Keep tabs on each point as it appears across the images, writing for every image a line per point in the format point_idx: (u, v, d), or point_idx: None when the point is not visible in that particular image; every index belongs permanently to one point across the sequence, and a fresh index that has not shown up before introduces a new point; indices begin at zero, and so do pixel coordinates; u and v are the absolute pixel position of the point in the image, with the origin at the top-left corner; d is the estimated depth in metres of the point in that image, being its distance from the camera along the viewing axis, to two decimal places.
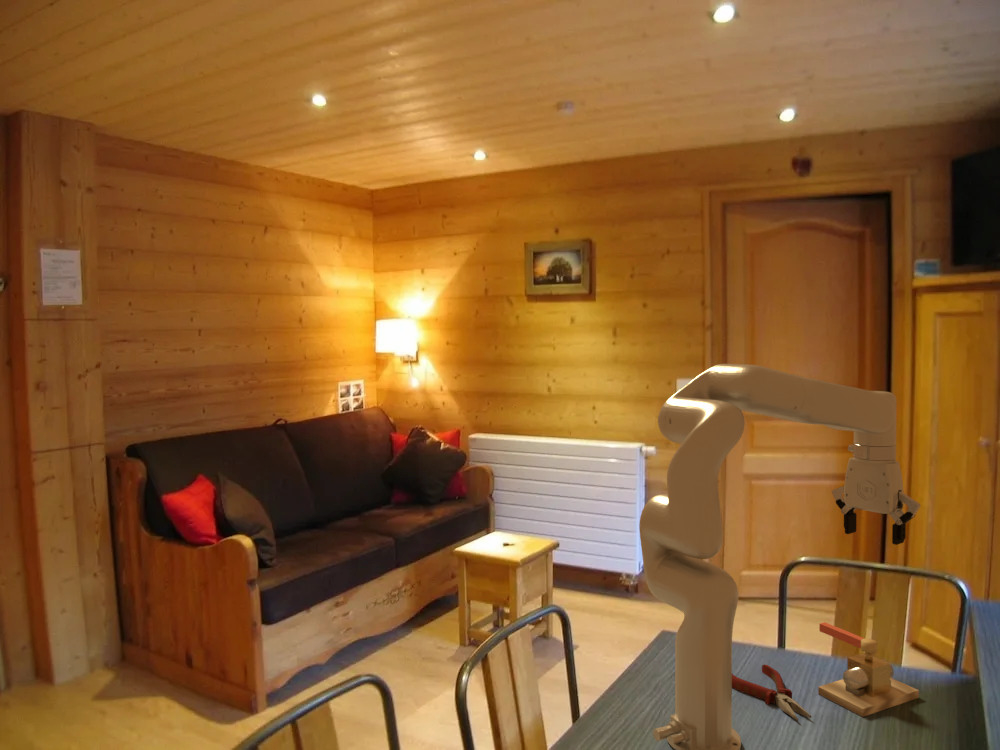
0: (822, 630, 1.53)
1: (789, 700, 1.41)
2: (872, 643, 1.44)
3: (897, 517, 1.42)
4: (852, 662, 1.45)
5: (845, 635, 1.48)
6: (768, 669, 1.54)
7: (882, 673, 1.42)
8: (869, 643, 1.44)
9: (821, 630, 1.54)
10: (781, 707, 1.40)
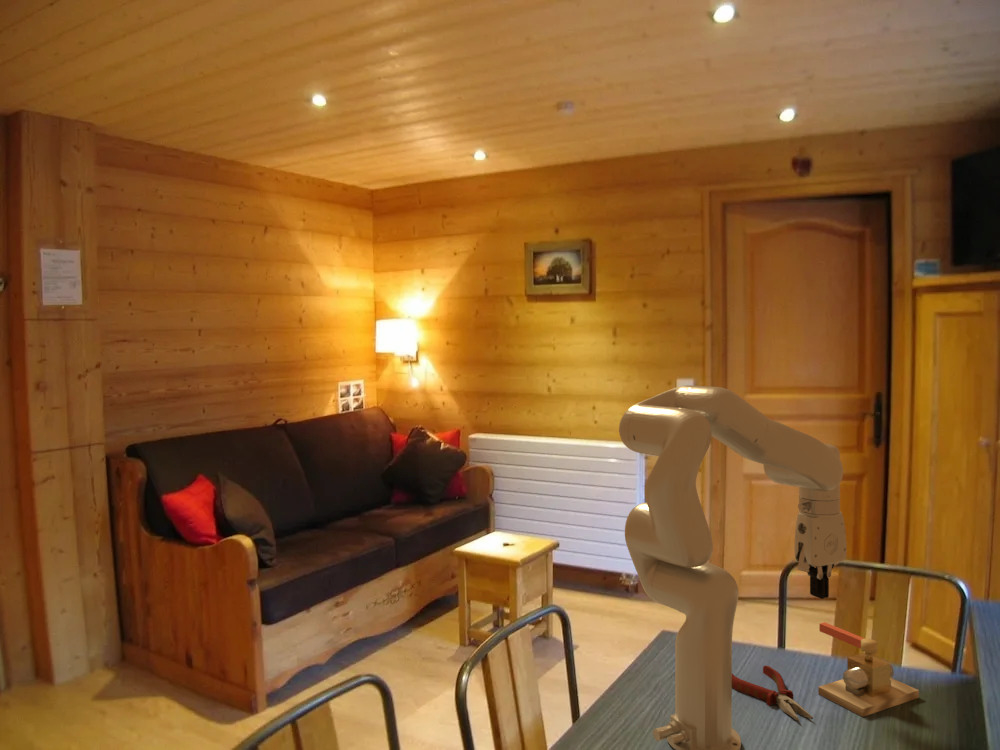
0: (822, 630, 1.53)
1: (790, 701, 1.40)
2: (872, 643, 1.44)
3: (830, 570, 1.47)
4: (852, 662, 1.45)
5: (845, 635, 1.48)
6: (769, 670, 1.53)
7: (882, 673, 1.42)
8: (869, 643, 1.44)
9: (821, 630, 1.54)
10: (782, 708, 1.40)
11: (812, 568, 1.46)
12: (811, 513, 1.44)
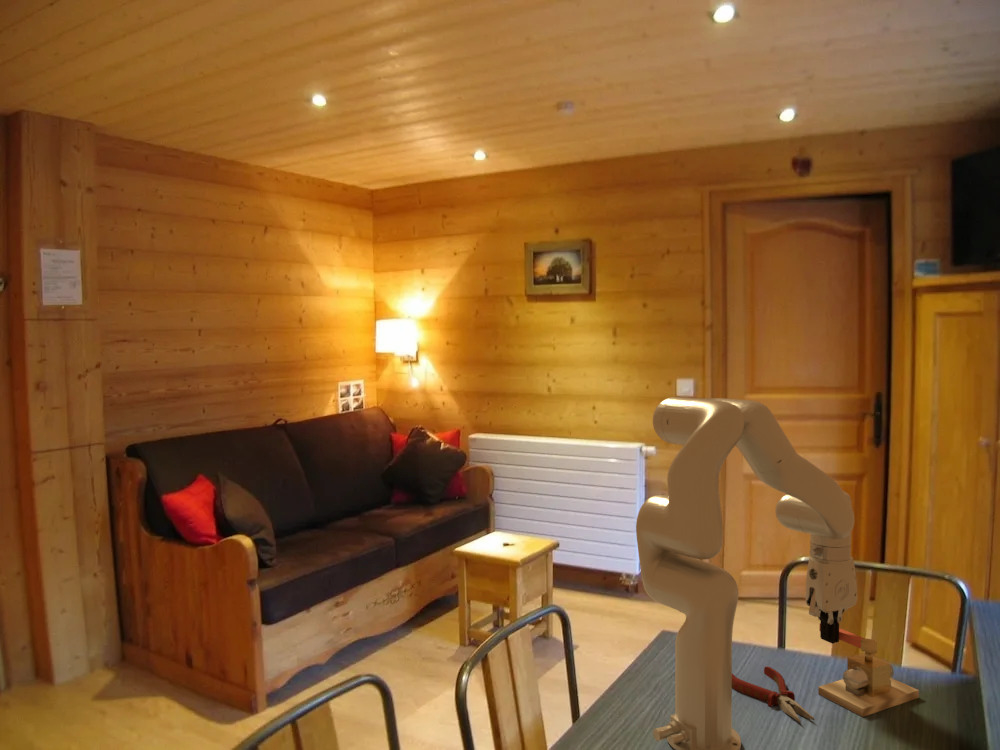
0: None
1: (792, 702, 1.40)
2: (872, 643, 1.44)
3: (841, 615, 1.49)
4: (852, 662, 1.45)
5: (845, 635, 1.48)
6: (770, 671, 1.53)
7: (882, 673, 1.42)
8: (869, 643, 1.44)
9: None
10: (784, 709, 1.39)
11: (823, 613, 1.47)
12: (822, 559, 1.46)
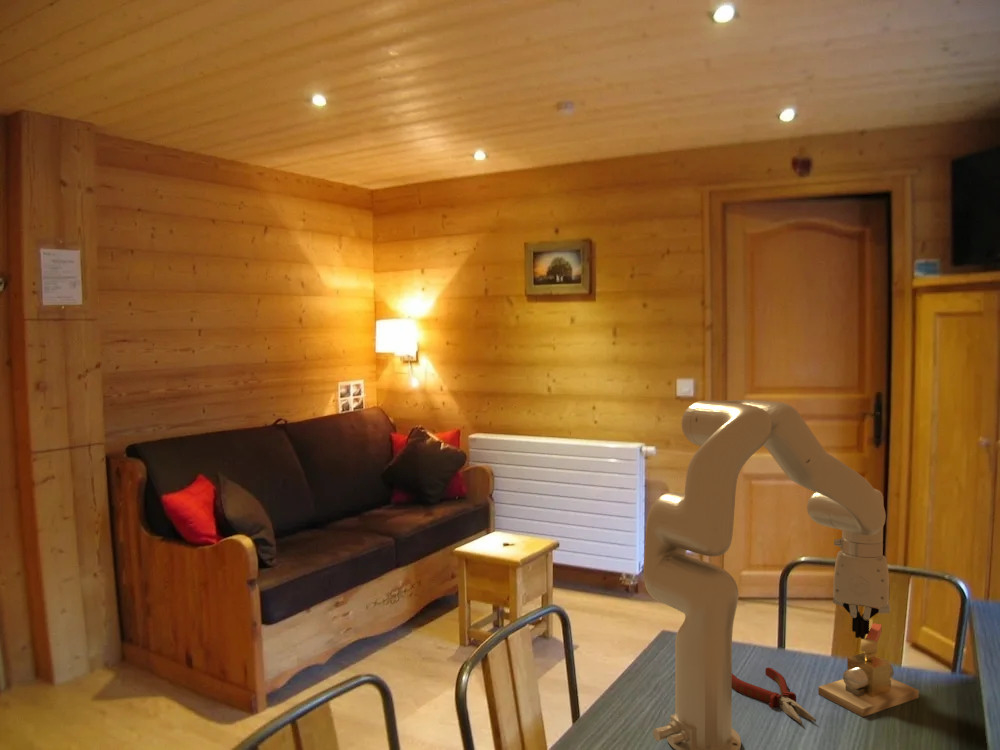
0: None
1: (793, 703, 1.40)
2: (866, 642, 1.44)
3: (869, 614, 1.50)
4: (852, 662, 1.45)
5: (868, 634, 1.49)
6: (771, 672, 1.53)
7: (882, 673, 1.42)
8: (864, 641, 1.44)
9: None
10: (785, 710, 1.39)
11: (845, 604, 1.52)
12: (841, 550, 1.52)
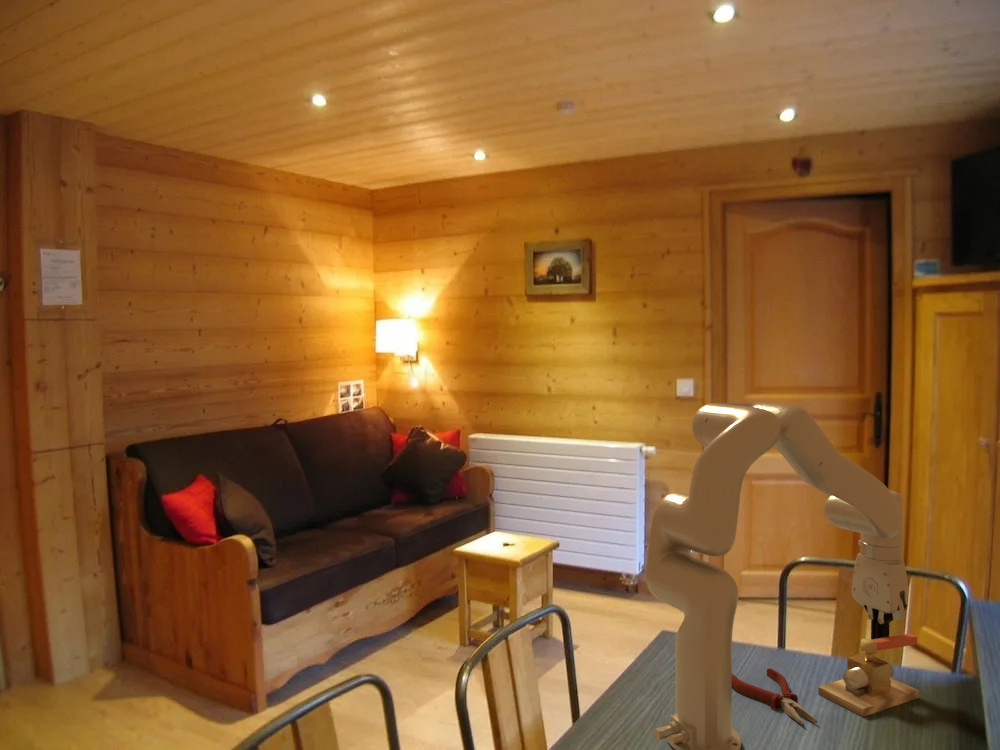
0: None
1: (795, 705, 1.39)
2: (864, 641, 1.44)
3: (882, 618, 1.48)
4: (852, 662, 1.45)
5: None
6: (773, 672, 1.52)
7: (882, 673, 1.42)
8: (863, 640, 1.45)
9: None
10: (787, 712, 1.38)
11: (865, 605, 1.52)
12: None
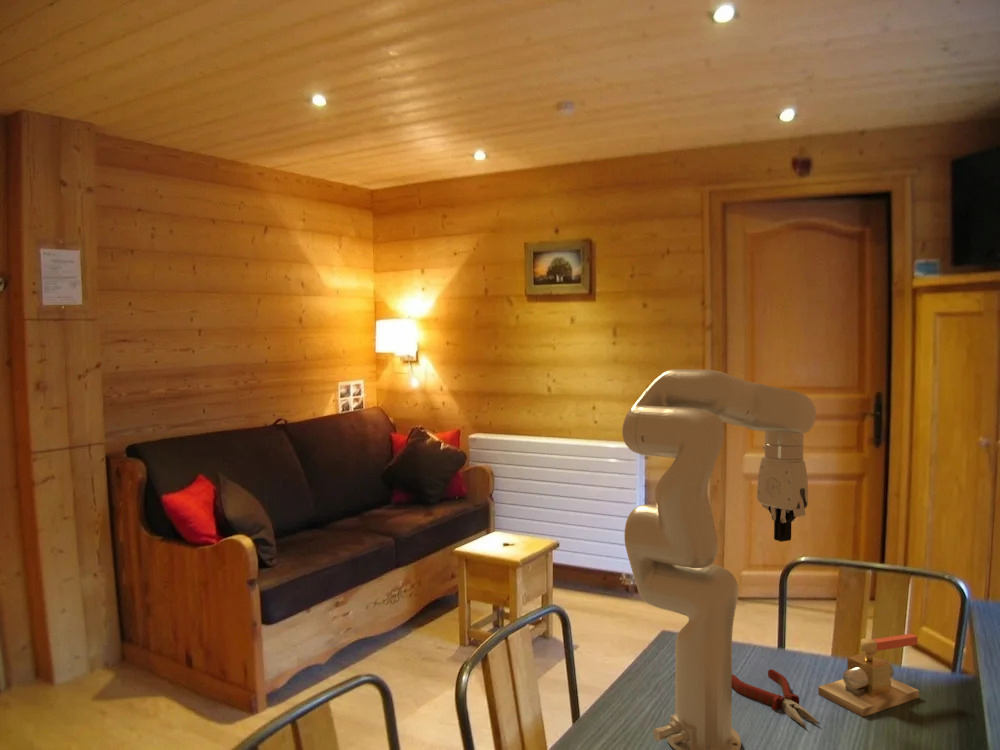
0: None
1: (796, 706, 1.39)
2: (864, 641, 1.44)
3: (784, 517, 1.52)
4: (852, 662, 1.45)
5: None
6: (774, 674, 1.52)
7: (882, 673, 1.42)
8: (863, 640, 1.45)
9: None
10: (788, 713, 1.38)
11: (769, 507, 1.56)
12: None
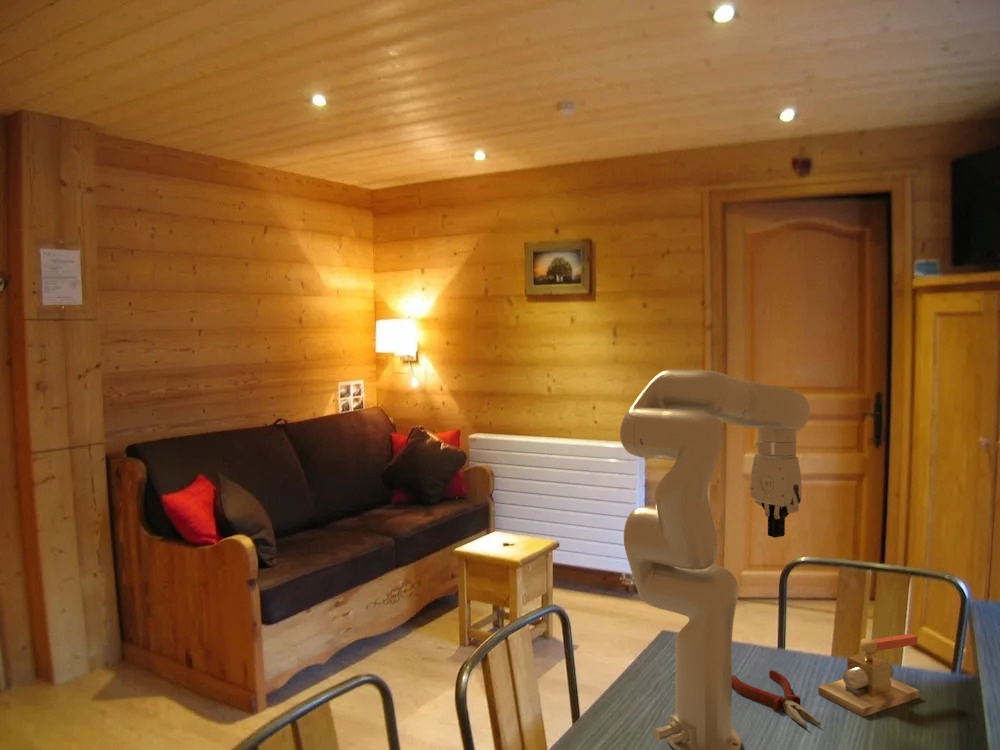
0: None
1: (797, 707, 1.38)
2: (864, 641, 1.44)
3: (777, 513, 1.52)
4: (852, 662, 1.45)
5: None
6: (775, 674, 1.51)
7: (882, 673, 1.42)
8: (863, 640, 1.45)
9: None
10: (789, 714, 1.37)
11: (762, 503, 1.56)
12: None
